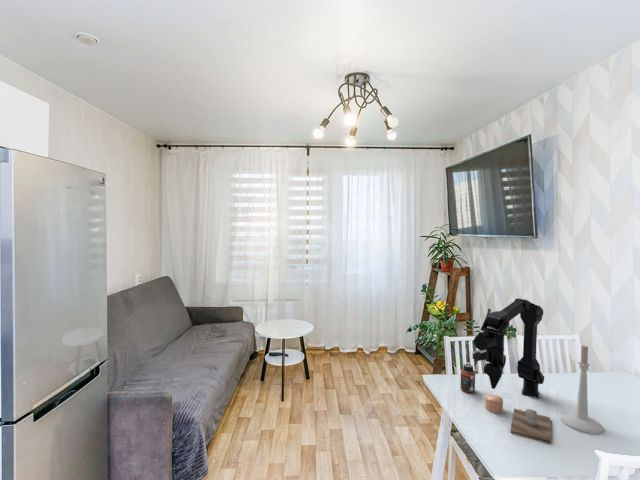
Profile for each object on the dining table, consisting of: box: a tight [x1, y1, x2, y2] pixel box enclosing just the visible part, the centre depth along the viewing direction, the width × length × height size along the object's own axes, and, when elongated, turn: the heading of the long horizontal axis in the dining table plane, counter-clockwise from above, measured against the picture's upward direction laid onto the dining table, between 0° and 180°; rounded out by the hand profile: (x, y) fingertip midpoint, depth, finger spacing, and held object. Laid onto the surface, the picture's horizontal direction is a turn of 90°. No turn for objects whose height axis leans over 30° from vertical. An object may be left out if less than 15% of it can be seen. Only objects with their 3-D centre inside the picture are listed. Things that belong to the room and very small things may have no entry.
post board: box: [510, 408, 552, 444], centre depth 132 cm, size 18×12×6 cm, turn 148°
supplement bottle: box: [460, 363, 476, 394], centre depth 160 cm, size 6×6×11 cm
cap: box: [484, 394, 504, 414], centre depth 144 cm, size 6×6×4 cm
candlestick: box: [560, 344, 605, 435], centre depth 133 cm, size 13×13×30 cm
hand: (494, 384), depth 143 cm, fingers open, 9 cm apart
